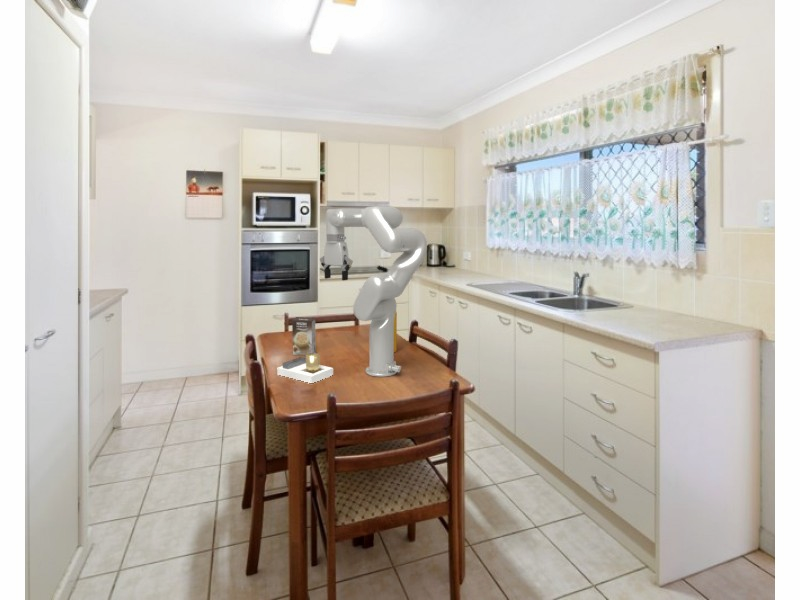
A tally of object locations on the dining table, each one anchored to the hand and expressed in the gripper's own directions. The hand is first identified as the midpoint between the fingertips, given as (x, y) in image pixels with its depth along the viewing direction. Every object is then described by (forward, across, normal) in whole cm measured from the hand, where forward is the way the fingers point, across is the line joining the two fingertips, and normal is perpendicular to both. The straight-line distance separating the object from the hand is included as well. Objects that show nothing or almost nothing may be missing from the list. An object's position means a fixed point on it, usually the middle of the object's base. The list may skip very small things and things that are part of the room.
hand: (336, 279), depth 205 cm
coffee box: (+34, +15, +5) cm, 38 cm away
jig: (+34, -6, +26) cm, 43 cm away
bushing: (+34, -10, +26) cm, 44 cm away
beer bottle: (+34, -13, -19) cm, 41 cm away
